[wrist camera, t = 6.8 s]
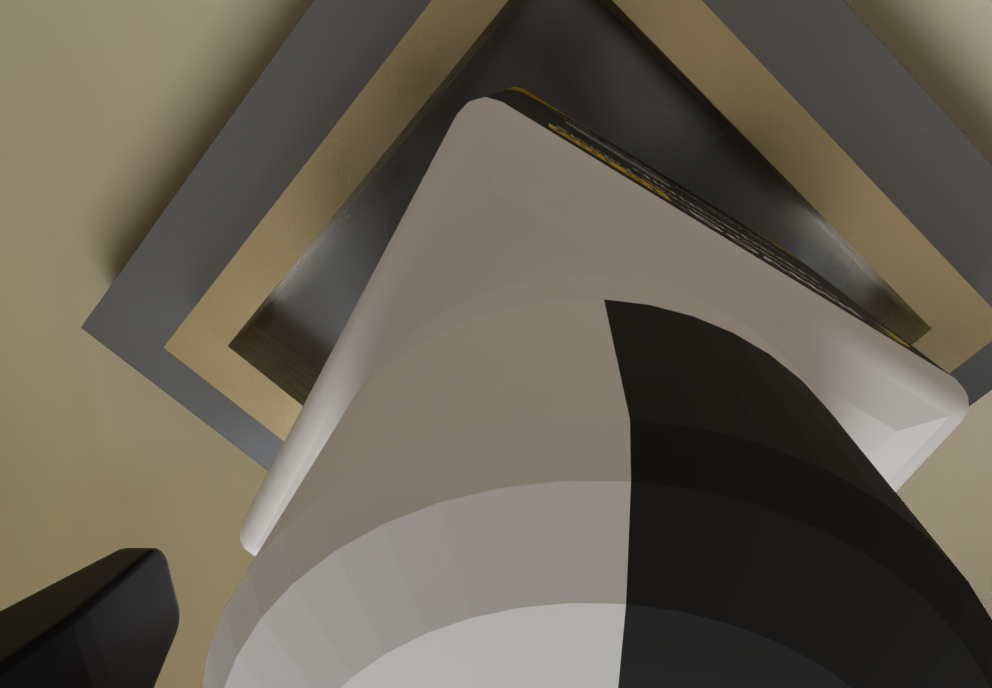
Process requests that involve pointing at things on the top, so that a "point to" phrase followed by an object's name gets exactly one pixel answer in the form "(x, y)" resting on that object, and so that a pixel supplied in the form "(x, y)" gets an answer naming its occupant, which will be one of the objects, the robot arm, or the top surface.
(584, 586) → the medicine bottle
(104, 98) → the top surface
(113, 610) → the robot arm
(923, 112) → the picture frame
